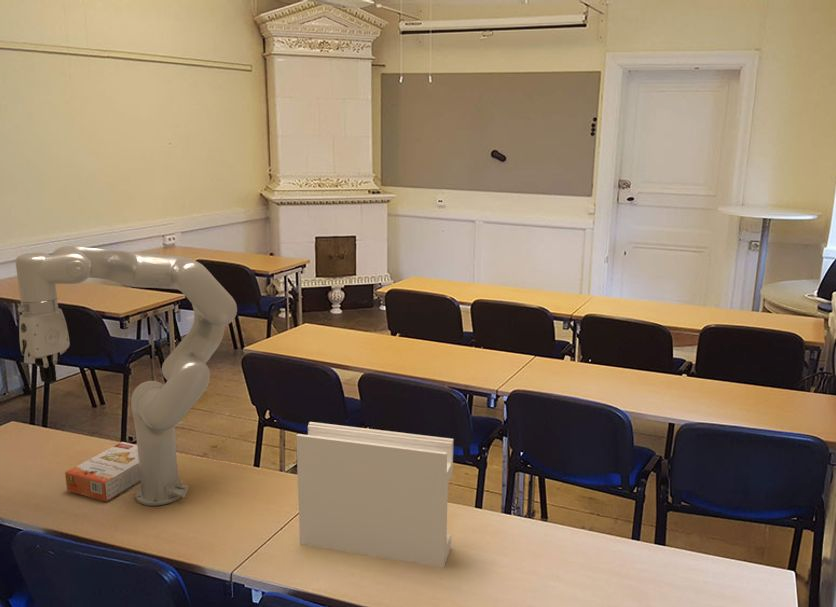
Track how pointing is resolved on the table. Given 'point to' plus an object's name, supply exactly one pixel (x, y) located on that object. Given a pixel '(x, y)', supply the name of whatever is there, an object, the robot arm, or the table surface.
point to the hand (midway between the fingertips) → (48, 381)
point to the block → (374, 492)
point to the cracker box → (106, 473)
